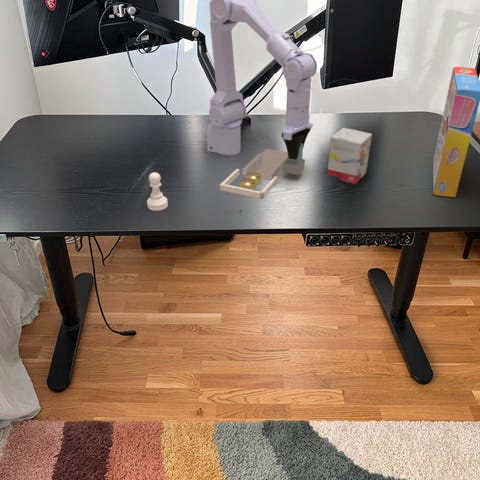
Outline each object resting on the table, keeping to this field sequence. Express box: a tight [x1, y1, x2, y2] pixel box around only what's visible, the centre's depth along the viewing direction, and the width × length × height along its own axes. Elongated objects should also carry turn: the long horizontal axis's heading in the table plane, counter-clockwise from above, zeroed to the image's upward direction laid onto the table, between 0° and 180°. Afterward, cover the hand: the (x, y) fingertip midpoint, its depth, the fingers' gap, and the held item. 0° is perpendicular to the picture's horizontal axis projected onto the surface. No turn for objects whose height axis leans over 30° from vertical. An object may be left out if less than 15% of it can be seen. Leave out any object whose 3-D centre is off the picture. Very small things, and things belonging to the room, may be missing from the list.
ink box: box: [326, 127, 373, 185], centre depth 139 cm, size 9×9×12 cm
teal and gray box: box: [282, 143, 306, 176], centre depth 136 cm, size 5×4×7 cm
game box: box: [432, 66, 480, 198], centre depth 132 cm, size 21×6×27 cm, turn 163°
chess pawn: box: [146, 171, 169, 212], centre depth 125 cm, size 5×5×9 cm
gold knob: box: [244, 172, 262, 186], centre depth 136 cm, size 4×4×2 cm
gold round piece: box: [239, 177, 256, 191], centre depth 133 cm, size 4×4×2 cm
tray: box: [219, 168, 279, 200], centre depth 134 cm, size 12×10×2 cm
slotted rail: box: [239, 148, 288, 182], centre depth 145 cm, size 10×19×3 cm, turn 155°
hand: (295, 156), depth 136 cm, fingers closed on teal and gray box, 3 cm apart
